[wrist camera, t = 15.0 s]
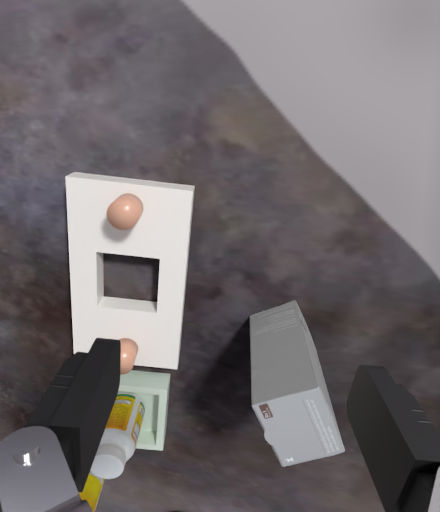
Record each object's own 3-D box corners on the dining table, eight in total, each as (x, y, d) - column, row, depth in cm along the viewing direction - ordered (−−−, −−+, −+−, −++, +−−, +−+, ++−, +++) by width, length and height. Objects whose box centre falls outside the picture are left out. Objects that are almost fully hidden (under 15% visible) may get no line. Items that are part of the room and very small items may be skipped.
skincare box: (315, 347, 48) (356, 453, 34) (264, 364, 49) (282, 474, 35) (295, 295, 45) (329, 387, 31) (241, 314, 46) (249, 412, 32)
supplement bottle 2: (153, 405, 51) (139, 469, 42) (127, 425, 53) (108, 490, 44) (125, 383, 50) (104, 443, 41) (99, 403, 51) (73, 466, 42)
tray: (90, 426, 54) (83, 443, 51) (89, 366, 50) (81, 381, 47) (165, 432, 54) (162, 450, 52) (170, 373, 50) (167, 389, 47)
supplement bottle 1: (75, 453, 56) (45, 524, 47) (110, 463, 57) (88, 535, 48) (67, 477, 58) (37, 549, 49) (101, 486, 59) (78, 559, 50)
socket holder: (81, 347, 48) (64, 375, 43) (74, 171, 40) (52, 182, 35) (179, 356, 49) (174, 386, 44) (194, 185, 40) (190, 198, 35)
